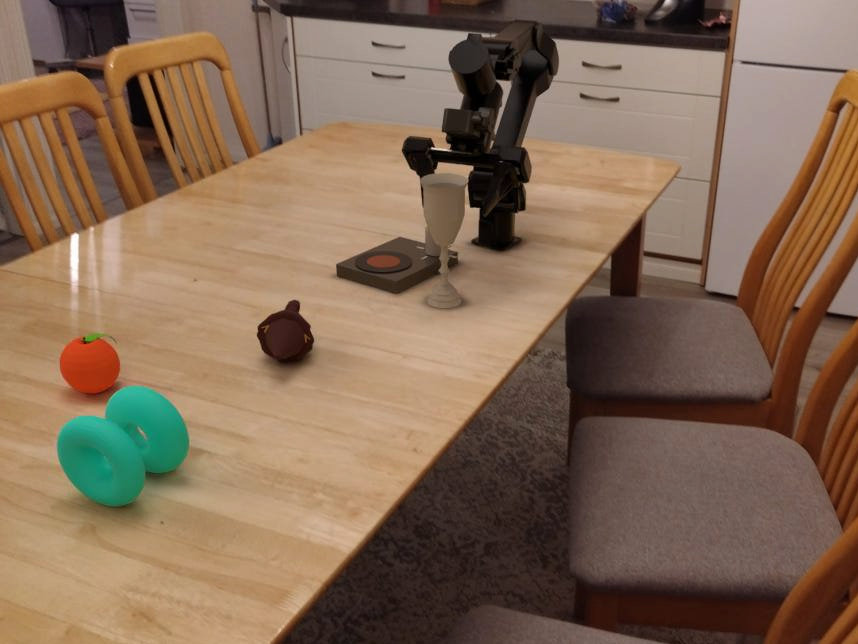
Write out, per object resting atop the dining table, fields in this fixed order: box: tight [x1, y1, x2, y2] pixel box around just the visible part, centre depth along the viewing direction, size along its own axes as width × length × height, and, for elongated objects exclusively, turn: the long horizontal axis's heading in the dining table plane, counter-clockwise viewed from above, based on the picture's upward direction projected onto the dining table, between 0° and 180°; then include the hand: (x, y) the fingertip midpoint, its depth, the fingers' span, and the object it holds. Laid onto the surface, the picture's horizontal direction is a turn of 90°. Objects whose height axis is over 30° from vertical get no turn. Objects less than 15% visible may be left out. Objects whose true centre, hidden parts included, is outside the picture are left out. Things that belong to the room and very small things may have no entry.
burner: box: [355, 251, 412, 273], centre depth 156 cm, size 9×9×1 cm
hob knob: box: [424, 226, 449, 256], centre depth 159 cm, size 4×4×4 cm
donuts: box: [56, 385, 190, 507], centre depth 103 cm, size 10×10×10 cm
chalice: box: [419, 172, 469, 309], centre depth 144 cm, size 7×7×18 cm
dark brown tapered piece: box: [256, 299, 315, 363], centre depth 130 cm, size 7×7×15 cm
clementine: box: [59, 333, 121, 394], centre depth 122 cm, size 8×7×7 cm
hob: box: [335, 236, 459, 295], centre depth 159 cm, size 17×13×2 cm
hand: (453, 211), depth 146 cm, fingers open, 9 cm apart
